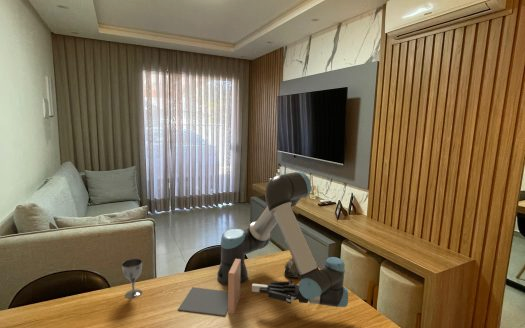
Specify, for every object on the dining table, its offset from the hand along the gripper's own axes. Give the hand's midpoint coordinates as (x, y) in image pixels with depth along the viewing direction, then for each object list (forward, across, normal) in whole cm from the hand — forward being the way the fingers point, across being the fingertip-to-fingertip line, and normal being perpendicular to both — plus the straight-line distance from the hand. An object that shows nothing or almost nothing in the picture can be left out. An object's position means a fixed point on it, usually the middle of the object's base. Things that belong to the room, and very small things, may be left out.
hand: (252, 287), depth 123 cm
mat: (+20, 0, -9) cm, 22 cm away
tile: (+8, 0, -9) cm, 12 cm away
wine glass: (+54, -1, -9) cm, 54 cm away
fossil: (-17, +29, -9) cm, 35 cm away
